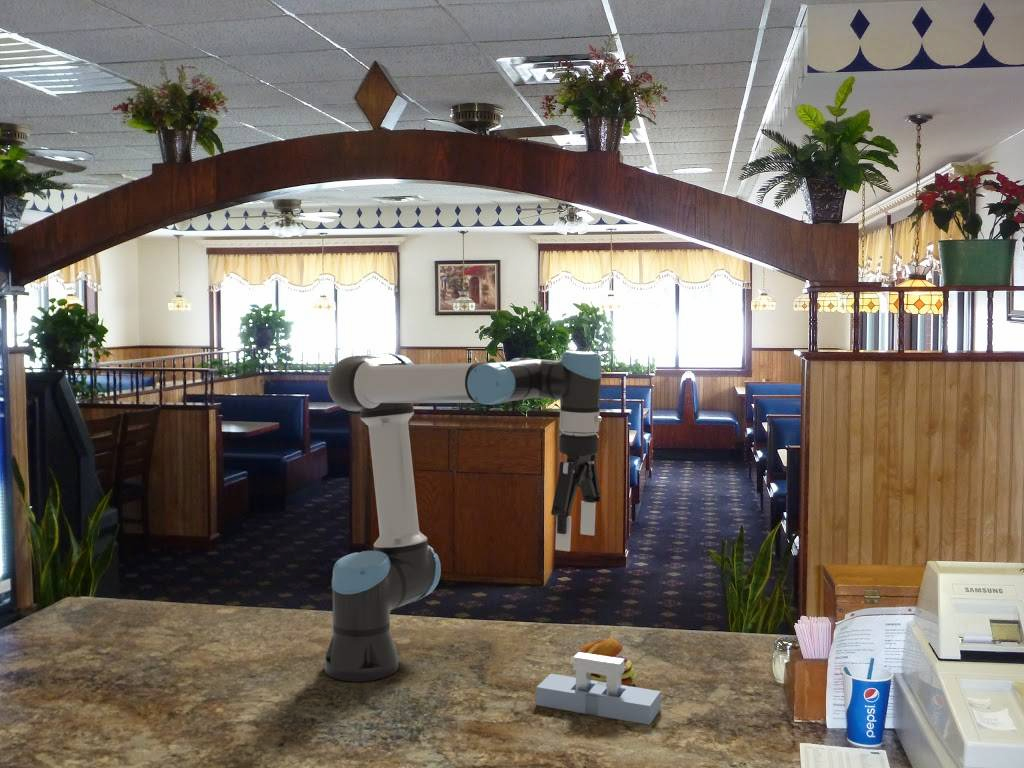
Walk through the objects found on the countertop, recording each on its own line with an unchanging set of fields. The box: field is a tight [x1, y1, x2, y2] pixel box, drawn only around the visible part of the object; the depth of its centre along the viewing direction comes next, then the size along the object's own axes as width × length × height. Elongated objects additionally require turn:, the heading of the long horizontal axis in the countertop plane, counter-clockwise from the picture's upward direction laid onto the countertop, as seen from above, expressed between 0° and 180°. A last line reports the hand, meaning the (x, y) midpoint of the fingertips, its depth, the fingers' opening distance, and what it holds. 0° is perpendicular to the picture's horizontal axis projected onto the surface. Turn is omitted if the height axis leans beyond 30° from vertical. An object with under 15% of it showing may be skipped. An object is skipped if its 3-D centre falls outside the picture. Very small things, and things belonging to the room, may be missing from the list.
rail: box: [535, 673, 662, 726], centre depth 190 cm, size 22×8×4 cm, turn 67°
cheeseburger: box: [579, 637, 637, 687], centre depth 202 cm, size 10×11×10 cm
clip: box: [572, 651, 624, 697], centre depth 189 cm, size 9×3×10 cm, turn 67°
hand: (575, 542), depth 194 cm, fingers open, 13 cm apart
